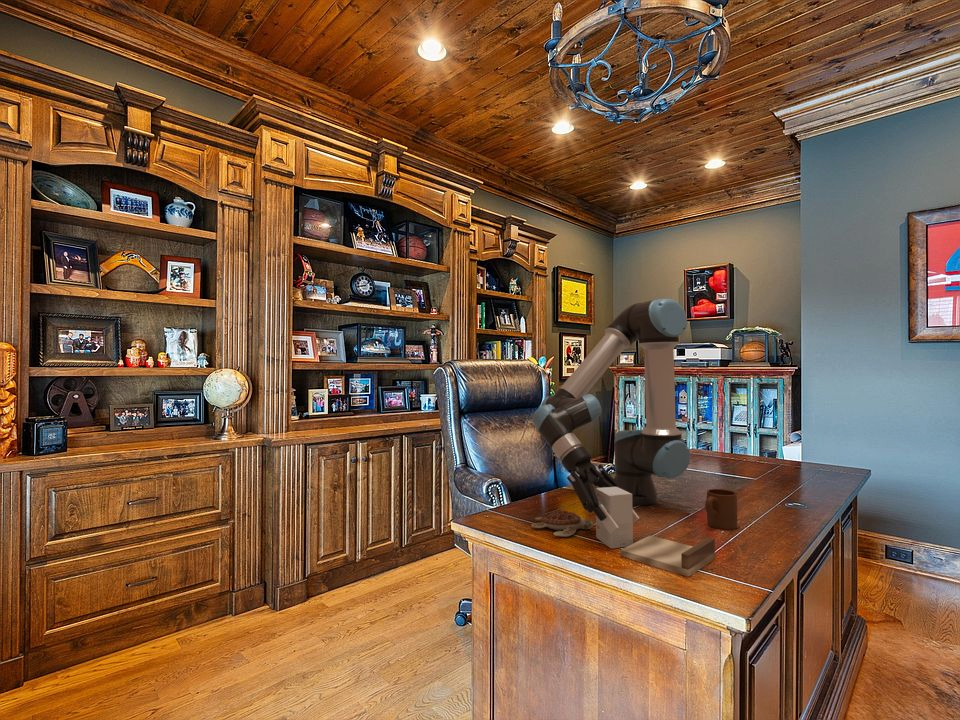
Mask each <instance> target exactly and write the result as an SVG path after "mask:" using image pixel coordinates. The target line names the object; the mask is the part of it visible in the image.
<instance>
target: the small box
mask: <svg viewBox="0 0 960 720" xmlns="http://www.w3.org/2000/svg"><path fill="white" fill-rule="evenodd" d="M595 494H596V496H597V499H598V502H599V506H600V505H601V504H602V505H603V506H604V507H605V509H606V510H607V512H608V513H609V514H610V516H611V517H612V518H613V520H614V521H615V523H616V524H617V525H618V528H617V529H616V530H615V531H614V532H613V533H611V534H610V533H609V531H608V530H607V529H606V527H605V526H604V524H603V523H602V522H601V521H600V520H599V518H598V517H597V516H596V515H595V537H596V539H597V540H599V541H600V542H601V543H603V544H604V545H606V546H607V547H608V548H609V549H619V548H620V547H621V548H626V547H628V546H630V545H632V544H634V523H633V510H634V507H633V506H634V505H632V494H631V493H629V492H627V491H625V490H623V489H621V488H618V487H604V488H600V487H595Z"/></svg>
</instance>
